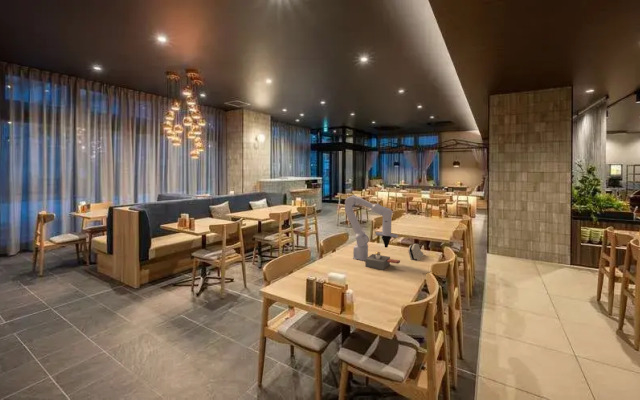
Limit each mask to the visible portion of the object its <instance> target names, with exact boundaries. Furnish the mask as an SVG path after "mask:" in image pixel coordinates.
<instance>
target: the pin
mask: <svg viewBox="0 0 640 400" xmlns="http://www.w3.org/2000/svg"><path fill="white" fill-rule="evenodd" d="M375 255H376V256H375V259H380V255H381V252H380V251H376V252H375Z"/></svg>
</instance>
